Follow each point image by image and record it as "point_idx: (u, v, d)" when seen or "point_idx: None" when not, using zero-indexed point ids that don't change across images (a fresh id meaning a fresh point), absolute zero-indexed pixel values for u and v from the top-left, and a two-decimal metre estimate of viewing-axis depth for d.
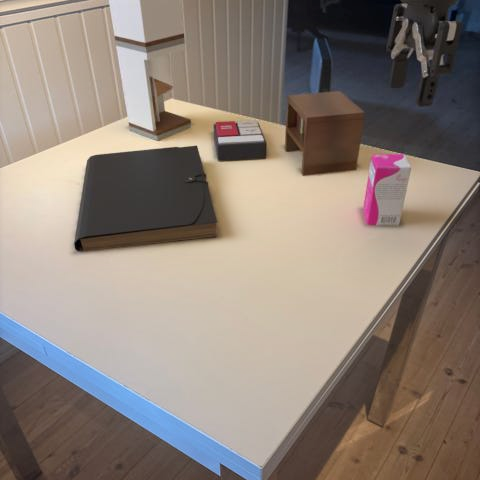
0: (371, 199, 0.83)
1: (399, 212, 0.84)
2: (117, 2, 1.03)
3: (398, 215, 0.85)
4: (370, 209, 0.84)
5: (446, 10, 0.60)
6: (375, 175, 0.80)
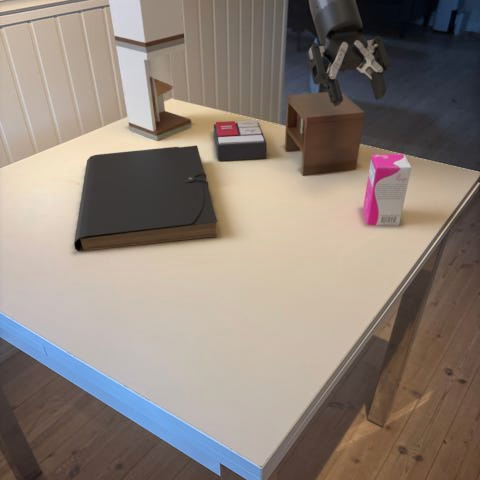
0: (371, 199, 0.83)
1: (399, 212, 0.84)
2: (117, 2, 1.03)
3: (398, 215, 0.85)
4: (370, 209, 0.84)
5: (325, 39, 0.83)
6: (375, 175, 0.80)
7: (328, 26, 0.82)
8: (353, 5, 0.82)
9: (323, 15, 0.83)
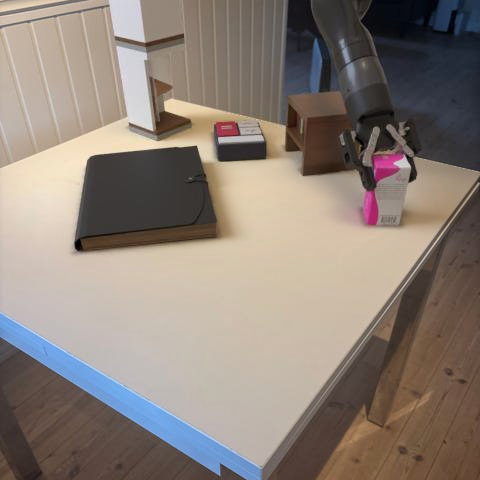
0: (371, 199, 0.83)
1: (399, 212, 0.84)
2: (117, 2, 1.03)
3: (398, 215, 0.85)
4: (370, 209, 0.84)
5: (356, 123, 0.81)
6: (375, 175, 0.80)
7: (360, 111, 0.80)
8: (385, 89, 0.80)
9: (354, 99, 0.81)
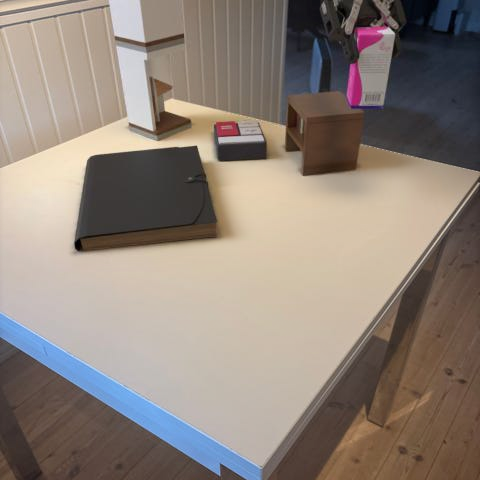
0: (354, 73, 0.80)
1: (383, 88, 0.82)
2: (117, 2, 1.03)
3: (382, 92, 0.82)
4: (353, 85, 0.81)
5: None
6: (358, 44, 0.78)
7: None
8: None
9: None
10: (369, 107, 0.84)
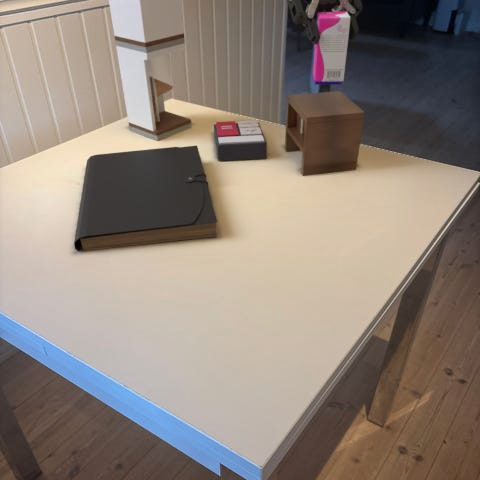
0: (317, 52, 0.92)
1: (343, 66, 0.93)
2: (117, 2, 1.03)
3: (342, 69, 0.94)
4: (316, 63, 0.93)
5: None
6: (319, 26, 0.89)
7: None
8: None
9: None
10: (331, 83, 0.95)
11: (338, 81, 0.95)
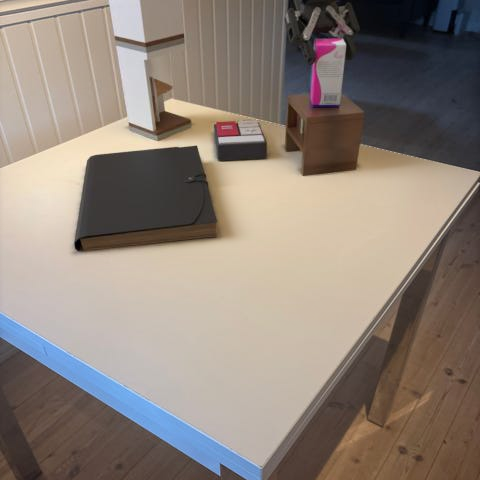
0: (314, 77, 0.95)
1: (339, 90, 0.97)
2: (117, 2, 1.03)
3: (338, 93, 0.97)
4: (314, 87, 0.97)
5: (300, 5, 0.93)
6: (316, 53, 0.93)
7: None
8: None
9: None
10: (328, 106, 0.99)
11: (335, 104, 0.98)
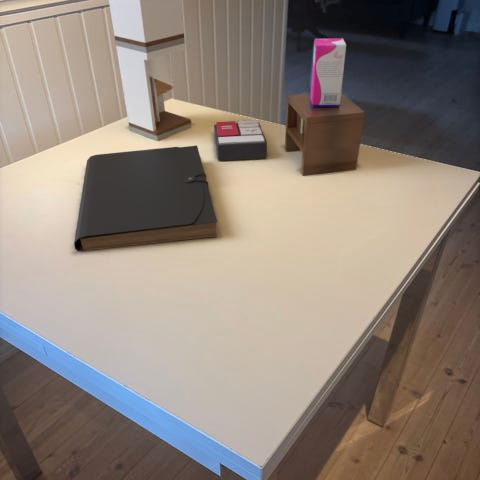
0: (314, 77, 0.95)
1: (339, 90, 0.97)
2: (117, 2, 1.03)
3: (338, 93, 0.97)
4: (314, 87, 0.97)
5: None
6: (315, 53, 0.93)
7: None
8: None
9: None
10: (328, 106, 0.99)
11: (335, 104, 0.98)
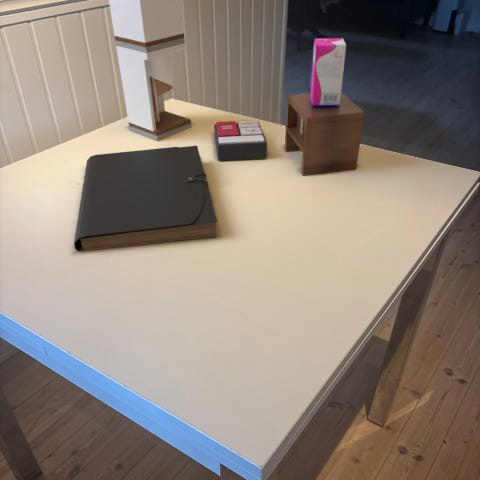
0: (314, 77, 0.95)
1: (339, 90, 0.97)
2: (117, 2, 1.03)
3: (338, 93, 0.97)
4: (314, 87, 0.97)
5: None
6: (315, 53, 0.93)
7: None
8: None
9: None
10: (328, 106, 0.99)
11: (335, 104, 0.98)
